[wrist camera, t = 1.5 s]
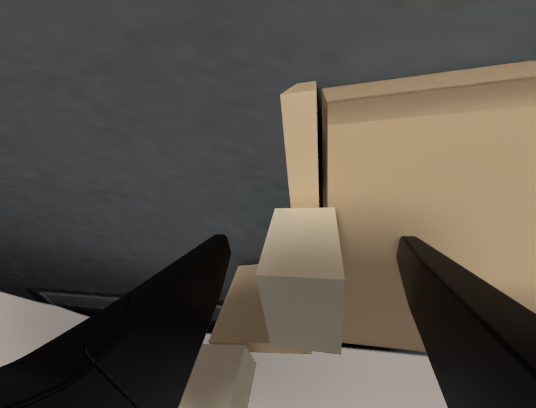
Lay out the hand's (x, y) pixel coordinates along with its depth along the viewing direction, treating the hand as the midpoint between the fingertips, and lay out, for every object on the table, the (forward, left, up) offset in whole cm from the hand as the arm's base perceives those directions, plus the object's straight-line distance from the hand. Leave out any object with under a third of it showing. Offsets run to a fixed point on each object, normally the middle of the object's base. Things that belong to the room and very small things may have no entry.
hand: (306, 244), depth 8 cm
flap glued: (0, -2, -7) cm, 7 cm away
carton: (-5, +1, -7) cm, 9 cm away
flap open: (+3, +9, -7) cm, 12 cm away
